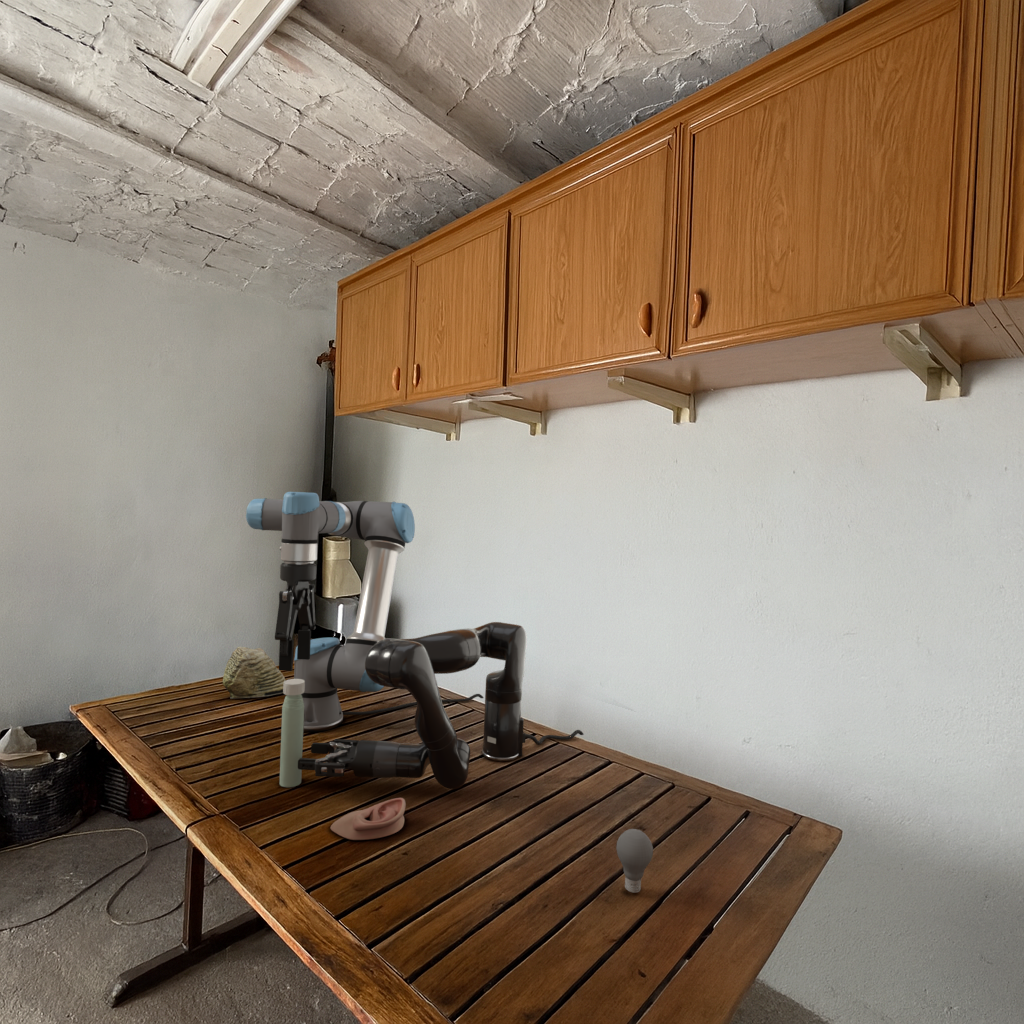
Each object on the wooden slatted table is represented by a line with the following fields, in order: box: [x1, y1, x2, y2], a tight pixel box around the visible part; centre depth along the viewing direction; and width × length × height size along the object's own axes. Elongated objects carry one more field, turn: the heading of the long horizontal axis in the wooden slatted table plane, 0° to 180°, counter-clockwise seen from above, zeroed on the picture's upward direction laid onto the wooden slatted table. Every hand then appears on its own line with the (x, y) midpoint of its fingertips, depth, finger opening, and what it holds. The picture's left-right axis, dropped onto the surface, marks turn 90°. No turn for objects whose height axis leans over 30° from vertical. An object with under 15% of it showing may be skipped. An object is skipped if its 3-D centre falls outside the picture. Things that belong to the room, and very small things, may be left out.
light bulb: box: [615, 828, 654, 894], centre depth 106 cm, size 6×6×10 cm
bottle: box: [278, 694, 304, 788], centre depth 139 cm, size 5×5×22 cm
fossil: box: [222, 646, 286, 699], centre depth 198 cm, size 9×18×15 cm, turn 132°
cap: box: [282, 678, 305, 696], centre depth 139 cm, size 4×4×2 cm
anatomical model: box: [330, 797, 407, 841], centre depth 123 cm, size 13×4×12 cm
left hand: (294, 664), depth 139 cm, fingers open, 9 cm apart
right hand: (305, 755), depth 139 cm, fingers open, 8 cm apart
